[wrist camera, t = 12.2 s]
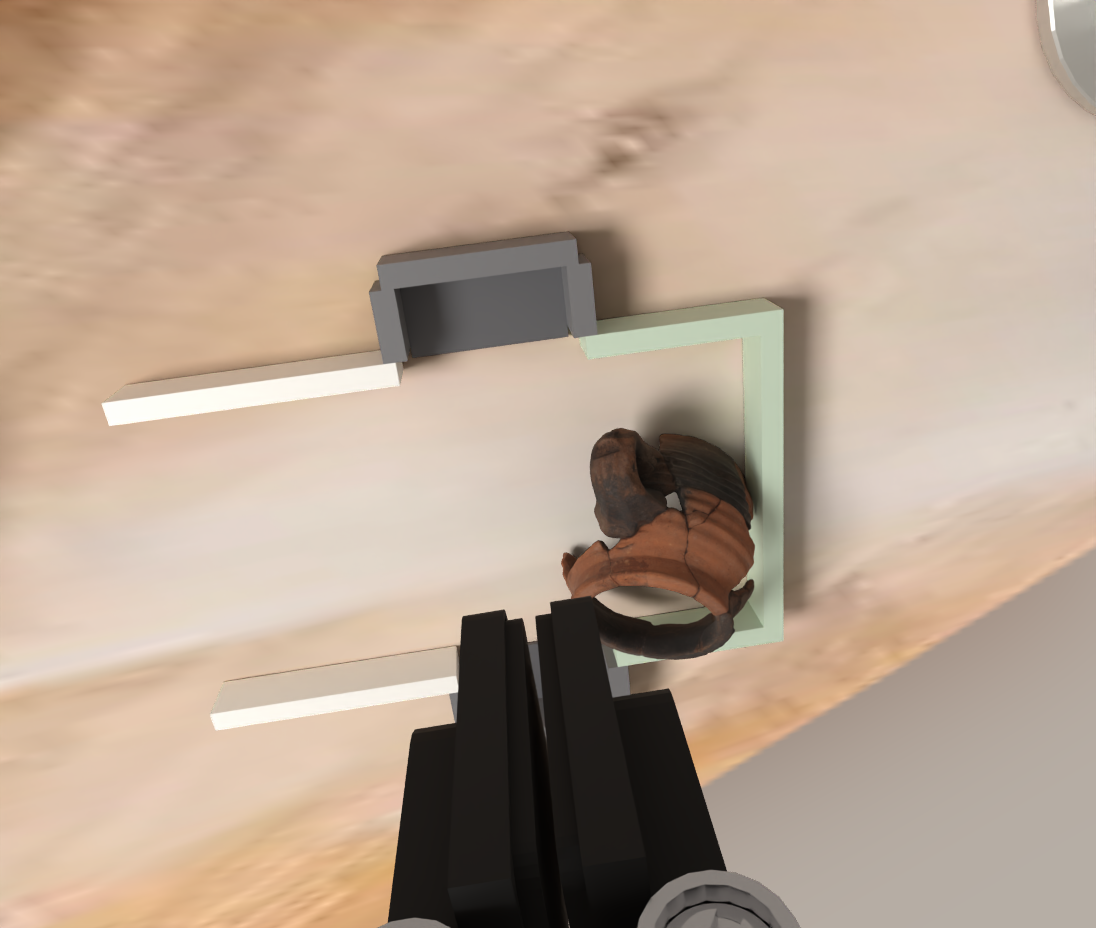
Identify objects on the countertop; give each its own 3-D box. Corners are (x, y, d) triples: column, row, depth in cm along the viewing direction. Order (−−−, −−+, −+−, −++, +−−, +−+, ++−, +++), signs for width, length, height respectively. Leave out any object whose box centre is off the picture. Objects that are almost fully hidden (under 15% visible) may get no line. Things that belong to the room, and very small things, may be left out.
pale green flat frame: (762, 205, 35) (783, 211, 33) (767, 674, 45) (783, 703, 43) (94, 293, 34) (67, 306, 32) (248, 757, 44) (236, 792, 42)
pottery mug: (784, 516, 42) (787, 660, 37) (620, 547, 47) (601, 679, 41) (693, 350, 35) (679, 499, 30) (509, 406, 39) (470, 544, 34)
